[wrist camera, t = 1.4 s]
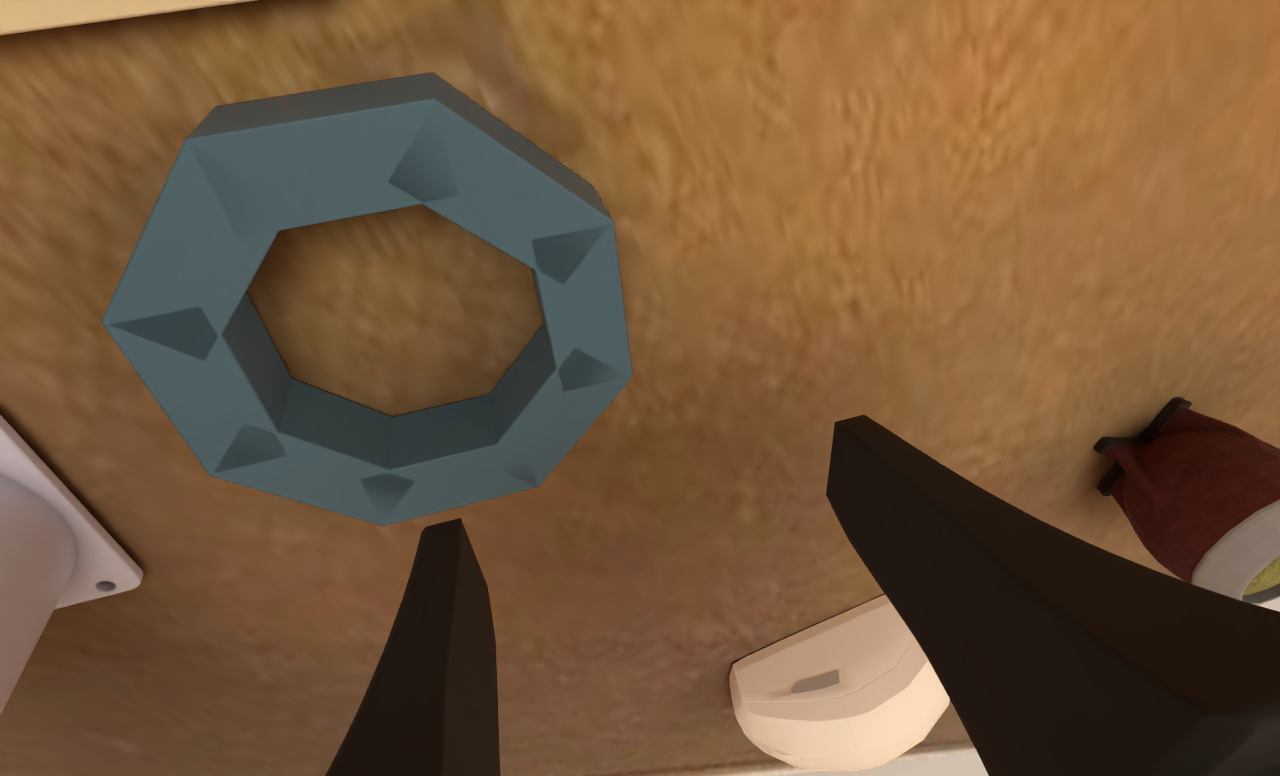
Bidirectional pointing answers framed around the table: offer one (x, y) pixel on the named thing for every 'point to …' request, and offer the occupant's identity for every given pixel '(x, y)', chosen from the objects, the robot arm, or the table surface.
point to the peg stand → (86, 11)
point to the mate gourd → (1202, 501)
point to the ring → (348, 187)
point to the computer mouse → (839, 692)
